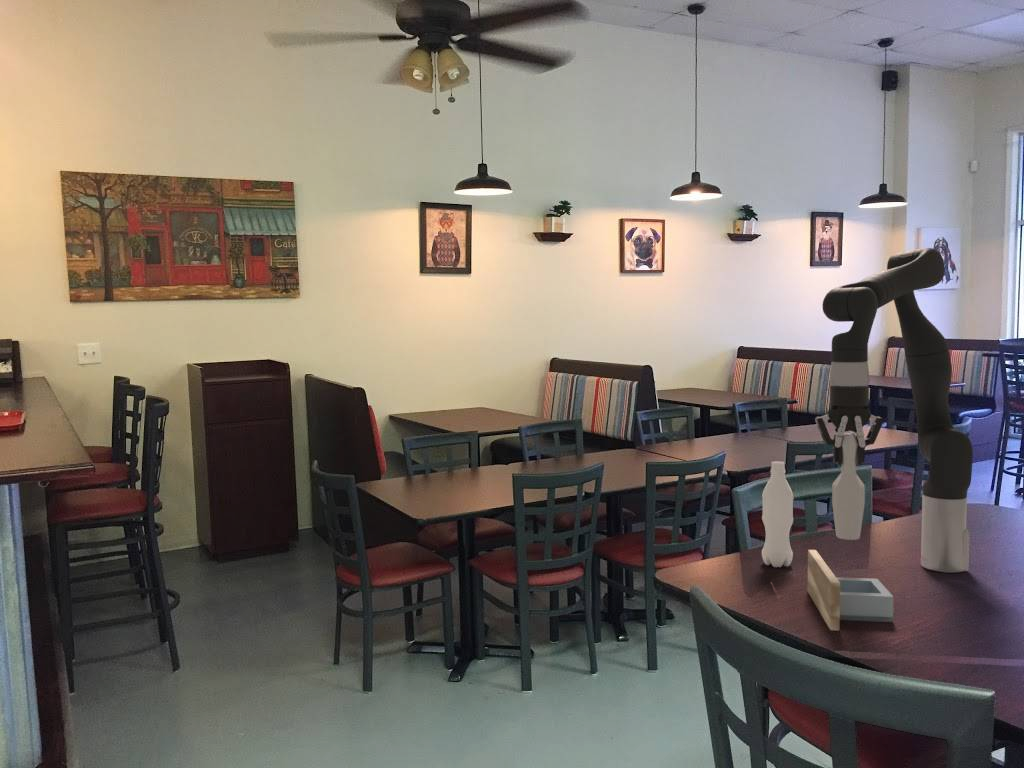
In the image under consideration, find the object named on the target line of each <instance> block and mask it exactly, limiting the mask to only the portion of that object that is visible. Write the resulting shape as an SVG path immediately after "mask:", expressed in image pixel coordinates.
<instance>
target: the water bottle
mask: <svg viewBox="0 0 1024 768" xmlns="http://www.w3.org/2000/svg"><path fill="white" fill-rule="evenodd" d="M769 473H770V478H769V480H768V481H767V483H766V485H765V487H764V488H763V491H762V495H761V496H762V516H761V520H762V523H763V525H764V529H765V540H764V544H763V546H762V549H761V557H762V560H763V562H764V564H765V565H766V566H770V565H771V566H772V567H774V568H777V567H779V568H781V567H783V566H784V567H785V566H787V567H790V565H791V563H792V561H793V556H794V552H793V549H792V548H791V544H790V532H791V527H792V525H793V523H794V514H793V513H794V512H793V511H794V494H793V493H794V492H793V491H792V489H791V486H790V485H789V482H788V480H787V477H786V473H787V472H786V468H785V462H784V461H781V460H780V461H776V460H775V461H771V468H770V470H769Z"/></svg>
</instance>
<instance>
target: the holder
mask: <svg viewBox="0 0 1024 768" xmlns="http://www.w3.org/2000/svg"><path fill="white" fill-rule="evenodd" d="M835 577H836V578H837V579H838V581H839V582H840V621H852V622H853V621H855V622H856V621H857V622H858V621H859V622H881V623H894V598H895V597H894V595H892V594H891V592H890V591H889V590H888V589H887V588H886V587H885V585H884V584H883V583H882V582H881V581H880V580H879V579H878V578H867V577H865V578H864V577H842V576H841V577H837V576H835Z"/></svg>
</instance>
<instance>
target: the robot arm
mask: <svg viewBox="0 0 1024 768" xmlns="http://www.w3.org/2000/svg"><path fill="white" fill-rule="evenodd" d="M886 264H887V265H886V269H885V270H883V271H879V272H877V273H874V274H872V275H869V276H867V277H865V278H862V279H861V280H859V281H857V282H856V281H855V282H851V283H847V284H844V285H839V286H836V287H834V288H832V289H831V290H829V291H828V292H827V293H826V294H825V296H824V298H823V300H822V312H823V314H824V315H825V317H826V318H827V319H828V320H830V321H833V322H837V323H839V322H842V323H843V322H844V323H845V322H846V323H847V322H853V323H852V325H851V327H850V329H849V330H848V331H845V332H841V333H837V334H835V335H834V336H833V337H832V339H831V363H830V364H831V365H830V371H829V372H830V373H829V409H828V411H827V413H826V414H824V415H822V416H816V417H815V418H814V421H815V424H816V426H817V428H818V431H819V434H820V436H821V438H822V441H823V442H824V443H825V444H826V445H830V446H832V461H833V462H834V463H835V464H836V465H837V466H841V464H842V448H841V447H840V446H841V442H842V438H843V436H844V434H845V433H846V432H853V434H854V435H855V437H856V440H857V444H858V446H857V455H856V466H862V463H864V462H865V460H866V459H865V457H866V456H865V455H866V454H865V453H866V447H867V446H870V445H874V444H875V442H876V440H877V438H878V435H879V433H880V431H881V429H882V426H883V424H884V422H885V419H884V418H883V417H880V416H879V415H878V416H876V415H874V414H872V413H871V411H870V409H869V405H870V403H869V397H870V393H869V388H870V386H869V385H870V372H869V365H868V363H869V362H868V360H869V359H868V358H869V357H868V356H869V355H868V353H869V352H868V351H869V350H868V349H869V347H868V346H869V345H868V344H869V340H870V336H871V331H872V328H873V325H874V321H875V318H876V315H877V313H878V309H880V308H882V307H884V306H885V305H888V304H889V303H891V302H892V301H894V302H893V303H894V306H895V310H896V314H897V316H898V323H899V327H900V331H901V336H902V337H901V338H902V344H903V350H904V358H905V363H906V368H907V373H908V377H909V382H910V383H909V384H910V387H911V388H910V389H911V393H912V397H913V402H914V406H915V413H916V424H917V425H916V426H917V429H916V430H917V443H918V449H919V452H920V454H921V455H922V457H923V459H925V460H926V461H927V462H929V474H928V475H929V476H928V477H927V480H925V481H924V482H923V484H922V497H921V498H922V502H921V506H922V507H921V539H920V540H921V541H920V542H921V545H920V547H921V551H920V552H921V554H920V565H921V566H922V568H925V569H927V570H930V571H935V572H940V573H950V574H951V573H952V574H953V573H962V572H969V560H970V556H969V555H970V530H968V529H967V512H968V511H967V506H968V505H967V503H968V490H969V488H970V485H971V484H972V483H971V482H972V472H973V461H974V460H973V457H974V456H973V455H974V454H973V453H974V451H973V449H974V448H973V444H972V441H971V439H970V438H969V436H968V435H967V434H966V433H964V432H962V431H960V430H958V429H955V428H954V425H953V422H952V419H951V414H950V409H949V408H950V407H949V395H950V390H951V383H952V379H953V377H952V376H953V365H952V360H951V355H950V354H951V353H950V349H949V344H948V341H947V339H946V338H945V336H944V335H943V334H942V333H941V331H940V330H939V329H938V328H937V327H936V326H935V325H934V324H933V323H932V322H931V321H930V320H929V319H928V318H927V316H925V315H924V313H923V311H922V310H921V308H920V306H919V304H918V301H917V298H916V295H915V291H918V290H924V289H928V288H932V287H935V286H937V285H939V284H940V283H941V282H942V280H943V278H944V276H945V272H946V267H945V260H944V258H943V256H942V254H941V252H939V250H937V249H936V248H932V247H922V248H917V249H912V250H908V251H907V250H906V251H902V252H897V253H895V254H892V255H891V256H890V257H889V258H888V261H887V262H886ZM829 420H830V422H831V423H832V425H833V427H834V431H833V437H832V438H831V436H830V434H829V430H828V429H827V426H828V425H829ZM868 421H869V424H870V428H869V430H868V433H867V435H866V438H865V433H864V428H863V427H864V426H865V425H866V424H867V422H868Z"/></svg>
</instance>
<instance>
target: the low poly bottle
mask: <svg viewBox="0 0 1024 768" xmlns="http://www.w3.org/2000/svg"><path fill="white" fill-rule="evenodd" d="M857 446H858V444H857V440H856V437H855V435H854V433H844V436H843V438H842V442H841V446H840V447H841V448H842V464H841V465H840V466H841V467H840V470H841V471H840V473H839V474H838V475H837V477H836V478H835V480H834V481H833V482H832V487H831V488H832V490H831V492H832V493H831V494H832V496H831V502H832V503H831V504H832V512H833V521H834V529H835V536H836V537H837V539H842V540H847V541H849V540H850V541H852V540H853V541H854V540H855V541H856V540H859V539H860V538H861V533H862V525H863V518H864V512H865V511H864V510H865V503H866V501H865V500H866V499H865V496H866V495H865V493H866V491H865V490H866V489H865V488H866V487H865V486H866V485H865V483H864V482H863V481H862V480H861V478H860V477H859V476H858V474H857V464H856V455H857Z"/></svg>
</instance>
